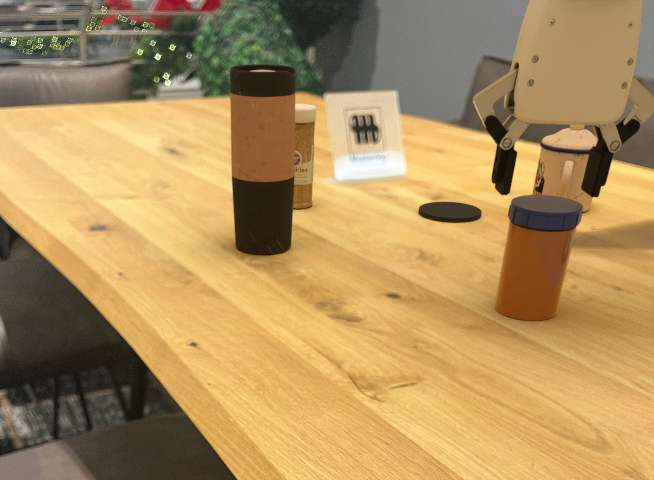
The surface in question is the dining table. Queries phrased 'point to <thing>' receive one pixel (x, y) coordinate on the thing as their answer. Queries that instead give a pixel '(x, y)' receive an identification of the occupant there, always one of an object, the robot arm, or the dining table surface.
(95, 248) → the dining table surface
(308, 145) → the sprinkles bottle
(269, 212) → the travel mug
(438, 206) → the coaster
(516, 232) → the jar
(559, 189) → the teacup with lid
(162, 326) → the dining table surface
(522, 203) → the lid
